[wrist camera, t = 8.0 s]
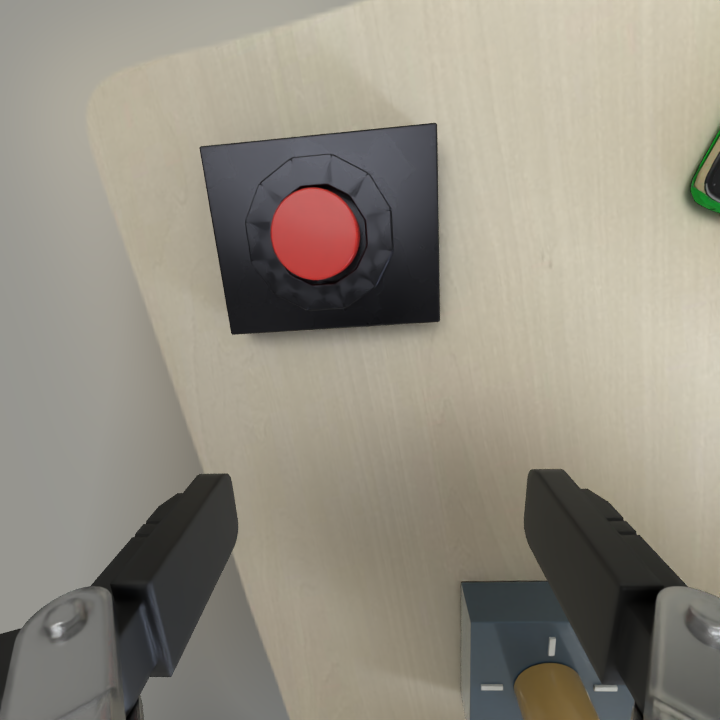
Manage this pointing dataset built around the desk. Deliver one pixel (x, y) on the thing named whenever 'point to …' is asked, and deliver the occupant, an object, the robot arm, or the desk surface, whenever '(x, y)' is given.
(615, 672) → the robot arm
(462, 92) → the desk surface
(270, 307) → the button block
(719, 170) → the smartphone
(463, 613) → the rotary dial box
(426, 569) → the desk surface
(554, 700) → the tap knob
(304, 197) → the stop button
